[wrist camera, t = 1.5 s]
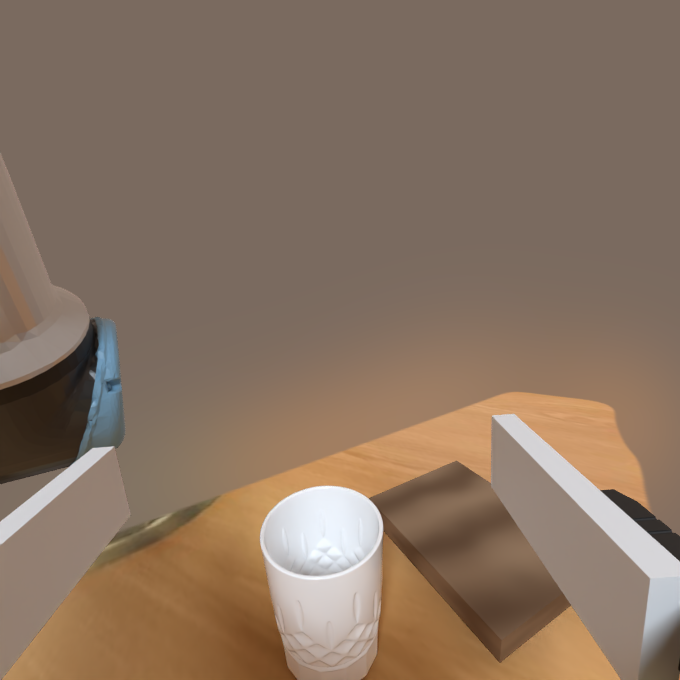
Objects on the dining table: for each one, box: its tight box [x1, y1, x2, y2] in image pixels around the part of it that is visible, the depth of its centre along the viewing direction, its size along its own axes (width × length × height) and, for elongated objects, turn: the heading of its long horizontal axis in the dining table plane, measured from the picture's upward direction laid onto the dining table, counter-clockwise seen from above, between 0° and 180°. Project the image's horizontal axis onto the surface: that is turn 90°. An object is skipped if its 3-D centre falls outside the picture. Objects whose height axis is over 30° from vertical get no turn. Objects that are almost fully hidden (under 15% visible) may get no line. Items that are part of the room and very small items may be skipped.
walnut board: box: [369, 461, 571, 662], centre depth 34 cm, size 16×12×2 cm
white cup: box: [260, 486, 383, 680], centre depth 25 cm, size 8×8×10 cm
